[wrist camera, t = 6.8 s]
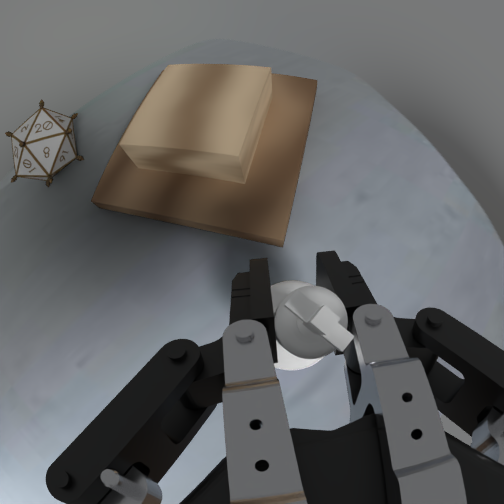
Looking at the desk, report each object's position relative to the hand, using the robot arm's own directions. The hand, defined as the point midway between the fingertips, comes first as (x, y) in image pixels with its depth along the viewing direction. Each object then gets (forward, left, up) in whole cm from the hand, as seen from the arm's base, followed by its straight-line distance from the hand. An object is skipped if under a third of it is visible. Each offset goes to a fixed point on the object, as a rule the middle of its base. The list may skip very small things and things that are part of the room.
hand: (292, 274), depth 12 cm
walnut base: (-9, +11, -8) cm, 16 cm away
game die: (-25, +7, -8) cm, 27 cm away
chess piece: (+1, -2, -4) cm, 5 cm away
